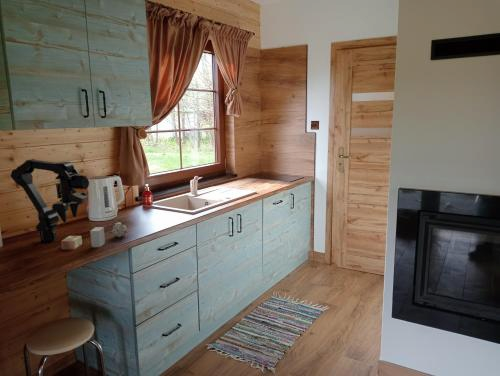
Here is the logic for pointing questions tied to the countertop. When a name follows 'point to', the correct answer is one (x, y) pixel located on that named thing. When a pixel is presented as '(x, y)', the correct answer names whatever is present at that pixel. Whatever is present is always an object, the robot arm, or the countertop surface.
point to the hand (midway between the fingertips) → (70, 219)
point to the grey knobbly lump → (119, 229)
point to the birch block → (71, 242)
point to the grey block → (97, 236)
